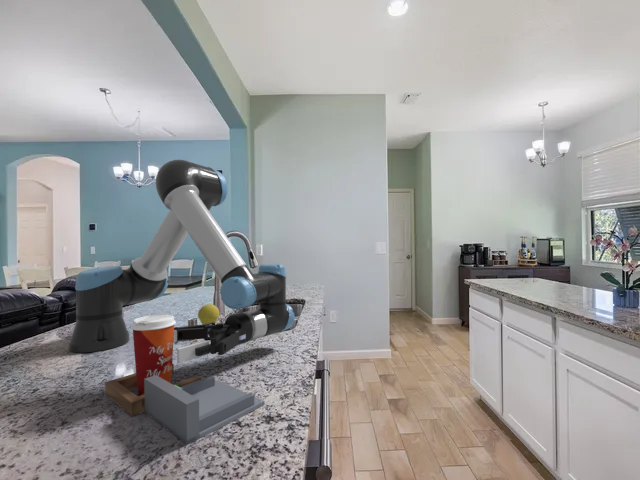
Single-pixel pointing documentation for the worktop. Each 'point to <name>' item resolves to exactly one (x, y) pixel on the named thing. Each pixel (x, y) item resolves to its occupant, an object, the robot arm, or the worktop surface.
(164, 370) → the coffee cup
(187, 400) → the port dock
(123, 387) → the wooden u-shaped frame
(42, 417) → the worktop surface
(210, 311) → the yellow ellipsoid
